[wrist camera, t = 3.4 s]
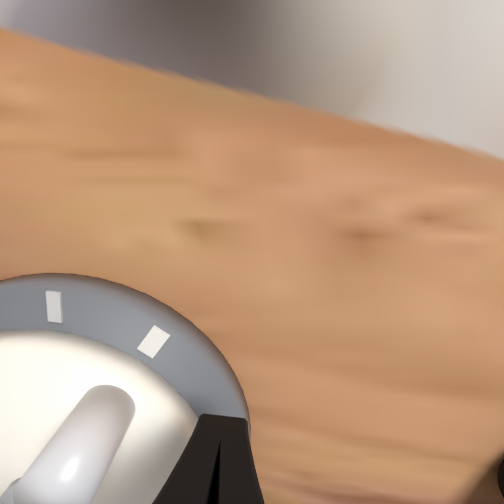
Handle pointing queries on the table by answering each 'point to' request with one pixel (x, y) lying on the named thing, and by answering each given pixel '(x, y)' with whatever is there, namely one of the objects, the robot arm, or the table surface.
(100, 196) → the table surface
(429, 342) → the table surface
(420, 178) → the table surface
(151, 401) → the dial
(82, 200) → the table surface
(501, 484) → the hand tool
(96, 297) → the dial base
